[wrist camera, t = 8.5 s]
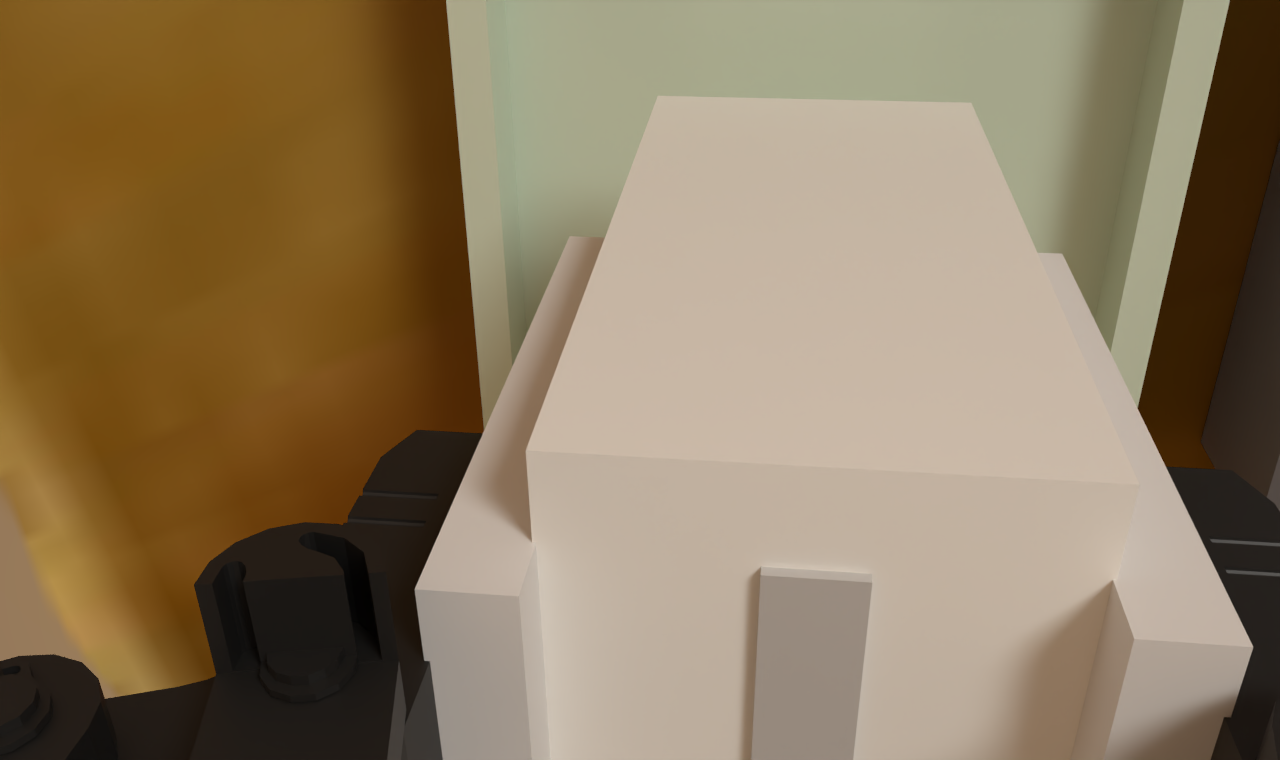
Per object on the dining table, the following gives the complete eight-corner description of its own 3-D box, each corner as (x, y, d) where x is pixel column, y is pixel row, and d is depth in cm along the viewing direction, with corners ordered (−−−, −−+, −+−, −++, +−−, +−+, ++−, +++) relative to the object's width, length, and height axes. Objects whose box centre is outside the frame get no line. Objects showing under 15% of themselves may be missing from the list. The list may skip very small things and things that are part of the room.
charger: (935, 377, 18) (1043, 904, 10) (659, 364, 18) (552, 859, 10) (971, 103, 16) (1143, 492, 8) (657, 95, 16) (522, 459, 8)
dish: (1083, 458, 22) (1110, 527, 20) (514, 426, 24) (489, 488, 22) (1216, -185, 17) (1268, -173, 15) (470, -182, 18) (430, -171, 16)
